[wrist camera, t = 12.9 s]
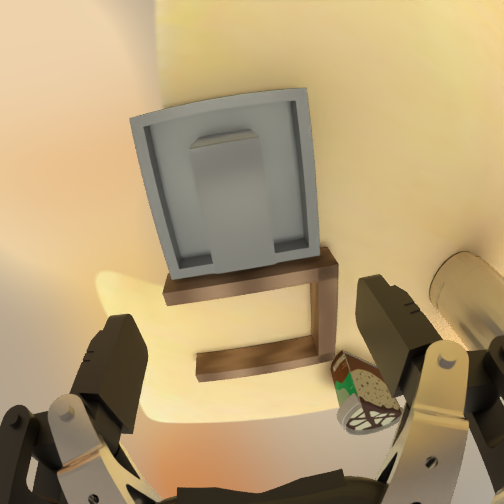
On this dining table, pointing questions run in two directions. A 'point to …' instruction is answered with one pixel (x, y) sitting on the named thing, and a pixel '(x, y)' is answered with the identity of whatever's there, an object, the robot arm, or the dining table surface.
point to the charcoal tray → (275, 167)
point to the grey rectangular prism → (233, 200)
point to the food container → (362, 396)
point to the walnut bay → (258, 280)
